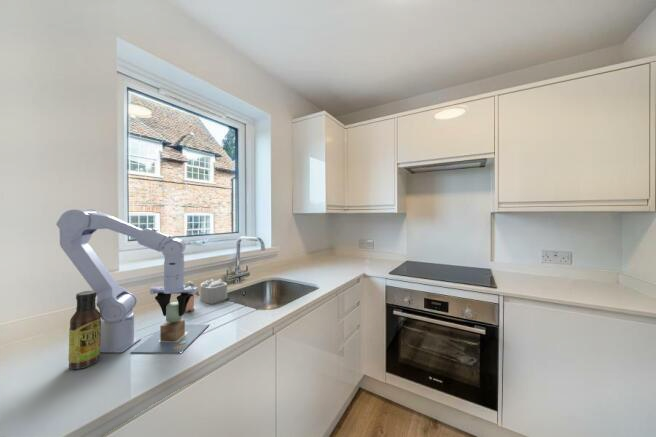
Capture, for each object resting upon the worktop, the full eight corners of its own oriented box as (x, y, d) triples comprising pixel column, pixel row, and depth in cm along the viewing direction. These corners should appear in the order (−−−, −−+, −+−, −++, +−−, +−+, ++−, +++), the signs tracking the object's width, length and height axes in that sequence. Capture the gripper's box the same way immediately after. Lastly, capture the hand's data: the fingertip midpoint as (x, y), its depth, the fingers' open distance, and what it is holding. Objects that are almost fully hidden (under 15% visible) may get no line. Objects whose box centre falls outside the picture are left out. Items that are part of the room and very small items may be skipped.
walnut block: (160, 341, 79) (160, 326, 79) (170, 333, 84) (170, 319, 84) (176, 341, 79) (176, 326, 79) (184, 333, 84) (184, 319, 84)
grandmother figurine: (182, 314, 101) (182, 283, 101) (178, 311, 103) (178, 282, 103) (201, 308, 107) (201, 279, 107) (196, 306, 109) (197, 278, 109)
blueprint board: (130, 353, 73) (130, 351, 73) (168, 325, 91) (168, 323, 91) (181, 353, 74) (181, 351, 74) (208, 325, 92) (208, 324, 92)
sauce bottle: (81, 372, 64) (80, 297, 64) (62, 369, 65) (61, 295, 65) (107, 358, 71) (106, 289, 70) (88, 355, 72) (88, 288, 71)
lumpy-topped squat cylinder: (210, 304, 112) (210, 285, 112) (194, 298, 119) (194, 281, 119) (230, 298, 121) (230, 280, 120) (214, 292, 128) (214, 276, 127)
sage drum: (162, 321, 80) (162, 306, 80) (171, 315, 84) (171, 301, 84) (177, 322, 80) (177, 307, 80) (184, 316, 85) (184, 301, 84)
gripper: (143, 277, 78) (143, 319, 78) (189, 278, 78) (189, 320, 78) (158, 272, 85) (158, 310, 85) (200, 272, 85) (200, 311, 85)
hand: (174, 314), depth 82 cm, fingers closed on sage drum, 5 cm apart
